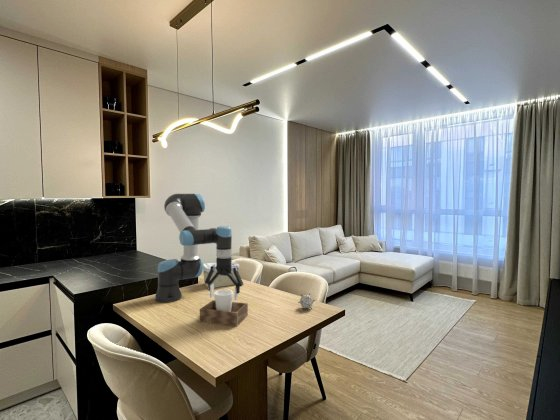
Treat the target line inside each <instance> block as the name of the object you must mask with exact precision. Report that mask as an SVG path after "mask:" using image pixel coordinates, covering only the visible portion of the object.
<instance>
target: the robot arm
mask: <svg viewBox="0 0 560 420" xmlns="http://www.w3.org/2000/svg"><path fill="white" fill-rule="evenodd" d="M163 208H164V211H165V213H166V215H168V216H169V217H170V218H171V220H172V221H173V223H174V224H175V226H176V228H177V230H178V231H179V236H178V239H179V244H181V246H183V253H182V256H181V257H180V260H178V259H176V258H174V259H166V260H164V261H163V260H162V261H160V262H159V263H158V265H157V289H156V293H155V296H154V300H155V301H156V302H158V303H173V302H175V301H178V300H179V301H180V299H182V292H181V290H180V286H179V281H180V280H188V279H194V278H195V279H196V278H198V277H200V276H201V275H202V273H203V264H204V262H203V259H201V257H200V255H199V254H198V249H199V248H198V246H199V245H207V244H216V247H215V249H216V258H215V259H216V262H215V263H216V264H217V266H215V265H213V266H211V269H210V272H209V274H208V276H207V278H206V280H205V281H204V284H205V283H207V284H208V287H207V288H208V292H209V298H210V299H211V298H213V297H214V293H215V290H214V289H215V288H214V284H212V283H213V282H214V280H215V279H216V278H217V277H218V276H219V275H224V276H226V275H227V276H228V277H229V278H230V279H231V281H232V282H233V283H234V285H233V286H235V287H234V301H237V300H239V294H240V292H241V291H240V287H243V286H244V281H243V280H242V278H241V276H240V272H239V273H238V269H237V267H233V268H232V267H231V261H232V239H233V238H232V236H233V233H232V228H231V227H230V226H227V225H226V226H224V225H223V226H221V225H220V226H217V227H211V228H207V229H199V218H200V217H201V216H202V213H203V212H205V209H206V204H205V200H204V197H203V195H201V194H200V193H174V194H171V195H170V196H168V197H167V198H166V200H165V202H164V207H163ZM215 269H216V270H217V271H218V272H217V273H216V274H215V275H214V277H213V278H212V279H211V276H212V274H213V272H214V270H215ZM231 270H232V271H233V272H234V275H235V277H236V278H235V277H234V276H233V274H232V272H231ZM210 279H211V280H210ZM236 279H237V280H236Z"/></svg>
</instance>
